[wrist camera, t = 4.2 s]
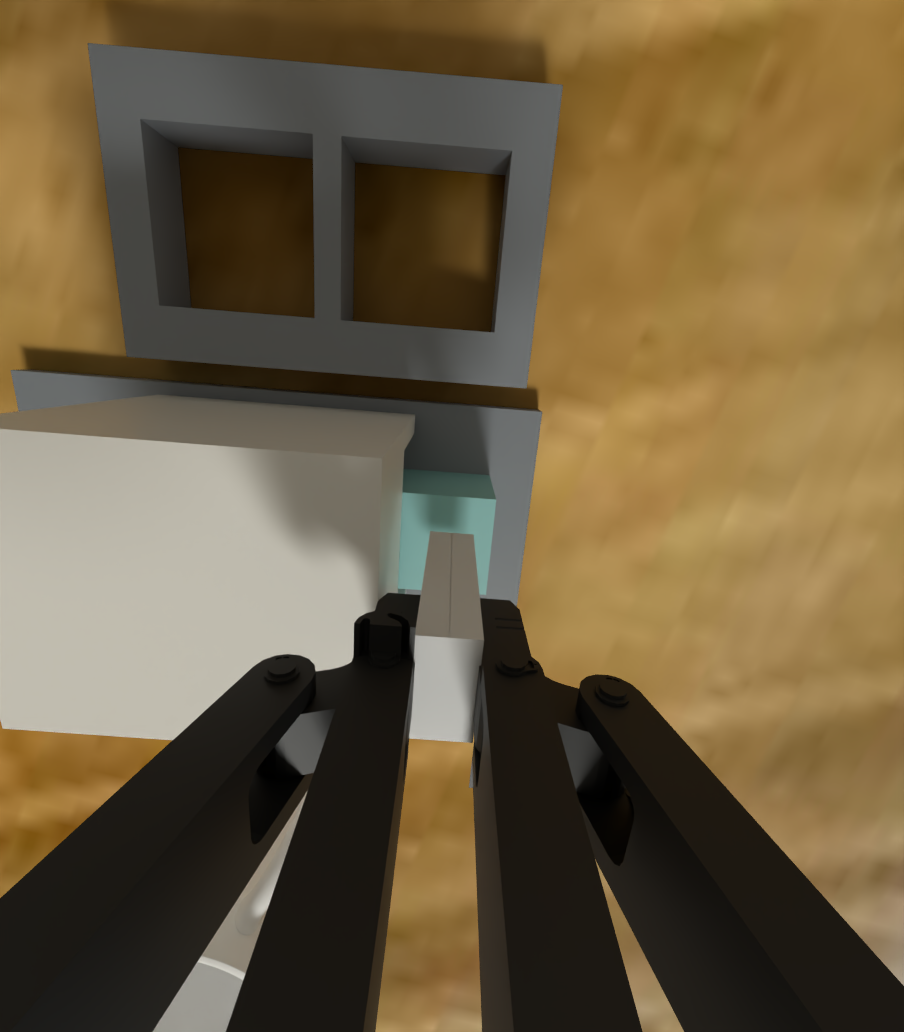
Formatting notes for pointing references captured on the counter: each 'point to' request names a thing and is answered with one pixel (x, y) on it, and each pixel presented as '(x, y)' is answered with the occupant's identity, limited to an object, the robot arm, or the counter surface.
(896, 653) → the counter surface
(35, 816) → the counter surface
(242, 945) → the mug
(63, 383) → the board
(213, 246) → the counter surface
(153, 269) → the socket board
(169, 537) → the cover
